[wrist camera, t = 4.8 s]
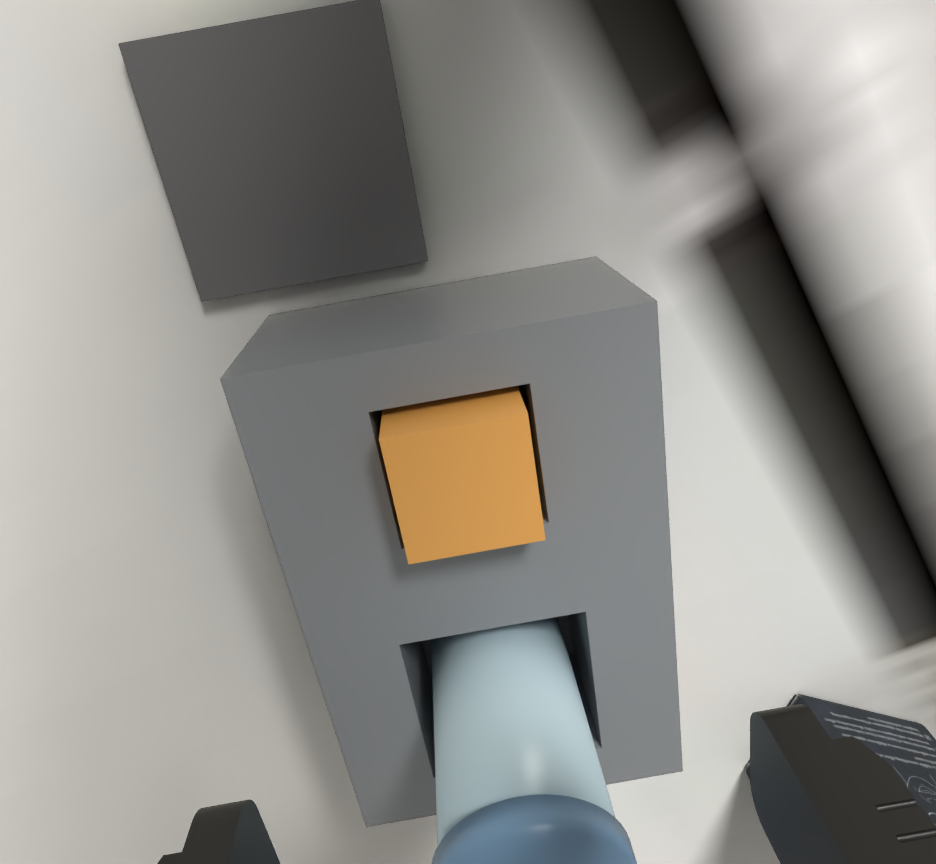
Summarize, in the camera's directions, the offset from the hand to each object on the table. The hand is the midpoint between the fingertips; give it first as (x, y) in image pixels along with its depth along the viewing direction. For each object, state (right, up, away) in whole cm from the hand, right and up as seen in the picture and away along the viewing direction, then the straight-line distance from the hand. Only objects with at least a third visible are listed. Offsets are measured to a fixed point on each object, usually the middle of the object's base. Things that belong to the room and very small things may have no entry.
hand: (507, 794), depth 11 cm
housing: (0, +3, +18) cm, 19 cm away
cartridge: (0, -2, +18) cm, 18 cm away
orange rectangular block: (-1, +6, +13) cm, 15 cm away
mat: (-7, +15, +13) cm, 20 cm away
